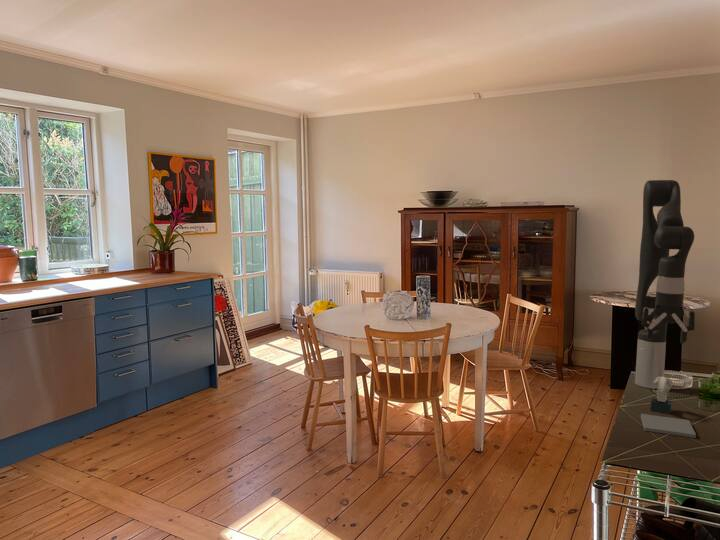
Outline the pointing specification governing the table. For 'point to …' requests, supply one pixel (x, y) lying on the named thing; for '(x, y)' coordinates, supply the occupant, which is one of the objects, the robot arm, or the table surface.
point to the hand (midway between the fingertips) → (666, 341)
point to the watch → (662, 396)
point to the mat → (667, 425)
